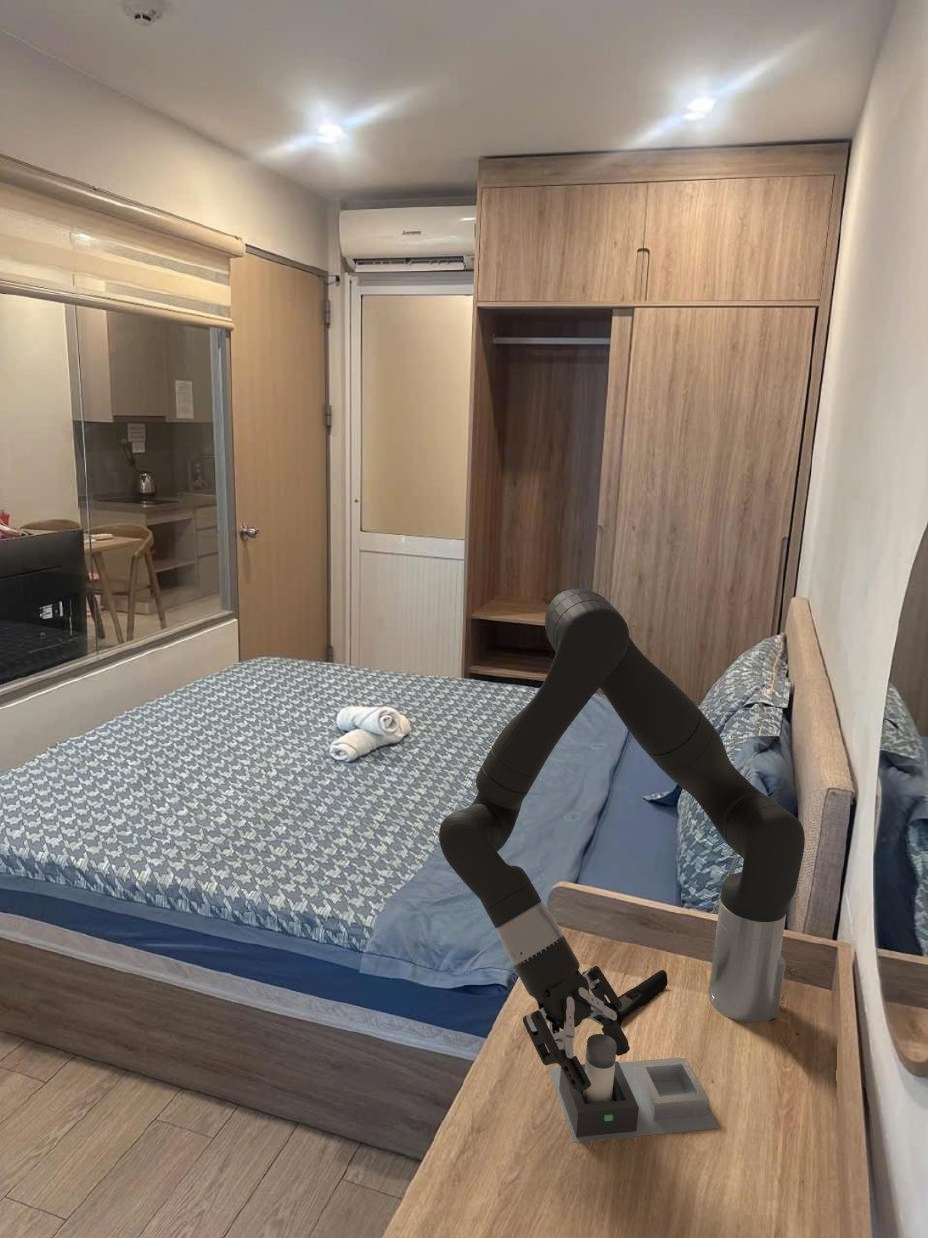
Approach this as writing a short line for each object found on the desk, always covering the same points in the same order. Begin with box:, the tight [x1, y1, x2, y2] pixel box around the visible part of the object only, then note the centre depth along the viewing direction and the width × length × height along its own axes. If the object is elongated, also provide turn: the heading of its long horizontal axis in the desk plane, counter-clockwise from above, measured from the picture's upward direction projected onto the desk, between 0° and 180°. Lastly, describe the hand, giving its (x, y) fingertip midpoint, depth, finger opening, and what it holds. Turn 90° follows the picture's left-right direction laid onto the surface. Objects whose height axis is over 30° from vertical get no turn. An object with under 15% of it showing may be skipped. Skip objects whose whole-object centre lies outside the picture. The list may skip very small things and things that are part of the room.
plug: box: [582, 1033, 617, 1104], centre depth 107 cm, size 4×4×10 cm
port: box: [559, 1060, 639, 1137], centre depth 107 cm, size 8×8×4 cm
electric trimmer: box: [616, 969, 668, 1027], centre depth 128 cm, size 4×16×3 cm, turn 134°
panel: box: [548, 1056, 720, 1144], centre depth 110 cm, size 18×12×1 cm, turn 99°
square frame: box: [634, 1057, 710, 1121], centre depth 110 cm, size 7×7×2 cm
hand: (605, 1070), depth 106 cm, fingers open, 8 cm apart
